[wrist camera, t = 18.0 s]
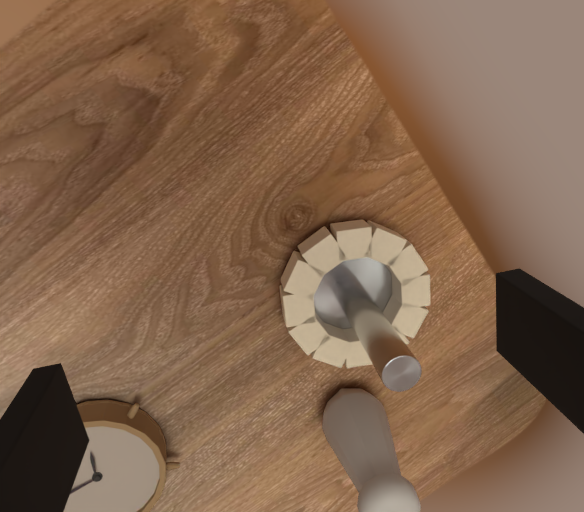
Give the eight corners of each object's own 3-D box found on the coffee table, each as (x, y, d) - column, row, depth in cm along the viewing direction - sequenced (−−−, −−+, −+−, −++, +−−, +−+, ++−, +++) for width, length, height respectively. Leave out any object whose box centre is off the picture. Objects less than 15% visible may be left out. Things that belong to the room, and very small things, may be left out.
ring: (272, 231, 38) (275, 239, 36) (418, 211, 39) (429, 218, 37) (288, 362, 42) (291, 377, 40) (420, 341, 43) (431, 355, 41)
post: (292, 249, 40) (326, 325, 27) (387, 233, 41) (465, 299, 27) (305, 336, 43) (342, 443, 29) (393, 319, 43) (468, 417, 30)
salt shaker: (304, 410, 45) (335, 527, 33) (348, 367, 44) (396, 471, 32) (348, 442, 47) (392, 565, 34) (390, 401, 46) (451, 512, 34)
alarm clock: (193, 491, 43) (28, 594, 40) (186, 456, 47) (38, 547, 44) (126, 394, 39) (-61, 502, 36) (126, 367, 43) (-40, 461, 41)
